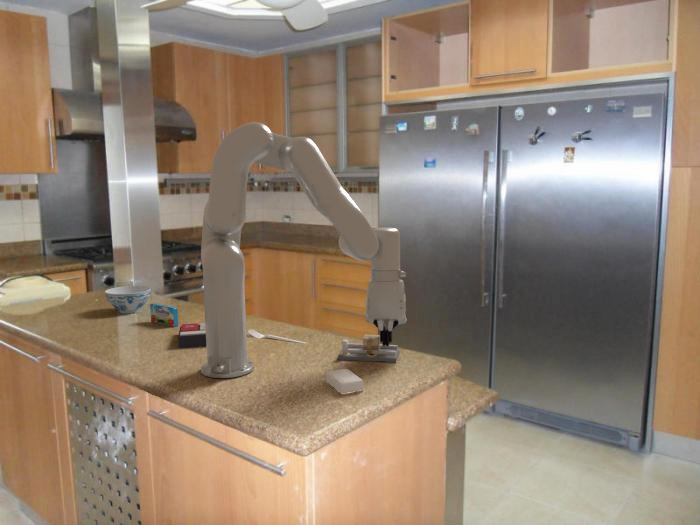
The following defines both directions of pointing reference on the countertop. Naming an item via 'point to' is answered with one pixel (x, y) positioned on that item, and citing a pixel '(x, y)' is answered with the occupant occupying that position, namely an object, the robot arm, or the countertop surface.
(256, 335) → the fork
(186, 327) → the calculator
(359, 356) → the switch panel
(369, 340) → the tan slider block
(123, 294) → the chinaware
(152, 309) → the blue thin box
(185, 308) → the countertop surface
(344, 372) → the soap
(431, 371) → the countertop surface
